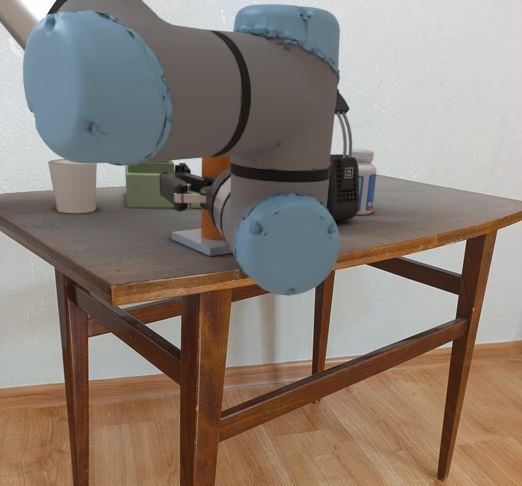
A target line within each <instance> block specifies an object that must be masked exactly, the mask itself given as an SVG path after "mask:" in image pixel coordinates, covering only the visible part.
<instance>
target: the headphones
mask: <svg viewBox="0 0 522 486" xmlns="http://www.w3.org/2000/svg"><path fill="white" fill-rule="evenodd" d="M349 111H350V107H349V104H348V103H347V100H346V99H345V98H344V96H343V95H342V94H341V93H340V89H339V88H337V97H336V107H335V115H336V116H337V118H338V121H339V124H340V128H341V134H342V143H343V144H342V146H343V148H342V150H343V151H342V154H341V153H339V154H337V153H336V154H335V153H334V154H330V162H331V163H332V168H331V173H330V180H329V189H328V200H327V208H328V210H329V213H330V214H331V216H332V217H333V219H334V221H335V222H340V221H348V220H351V219H354V217H356V216H357V215H356V214H357V212H358V208H359V169H358V163H357V160H356V159H355V158H354V157H352V149H353V134H352V129H351V125H350V122H349V118H348V116H347V113H348V112H349ZM345 125H346V127H345ZM346 130H347V132H346ZM347 136H348V137H347ZM347 138H348V141H347ZM347 151H348V154H347Z"/></svg>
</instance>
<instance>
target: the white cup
mask: <svg viewBox="0 0 522 486" xmlns="http://www.w3.org/2000/svg"><path fill="white" fill-rule="evenodd" d="M47 163H48V169H49V174H50V180H51V184H52V190H53V195H54V201H55V206H56V211H57V212H59V213H64V214H84V213H85V214H87V213H91V212H94V211H96V209H97V208H96V205H97V204H96V203H97V173H98V172H97V171H98V170H97V169H98V168H97V165H98V163H77V162H71V161H69V160H66V159H64V158H59V159H51V160H48V161H47Z"/></svg>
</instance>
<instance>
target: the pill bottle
mask: <svg viewBox="0 0 522 486" xmlns="http://www.w3.org/2000/svg"><path fill="white" fill-rule="evenodd" d="M374 154H375V152H374V150H370V149H358V148H357V149H353V148H352V157H354V158H355V159H356V160H357V163H358V169H359V208H358V212H357V214H356V215H355V216H357V215H358V216H361V215H370V214H371V213H372V212H373V206H374V199H375V189H376V182H377V181H376V179H377V167H376V166H375V165H374V164H373V161H374V156H375V155H374Z"/></svg>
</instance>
